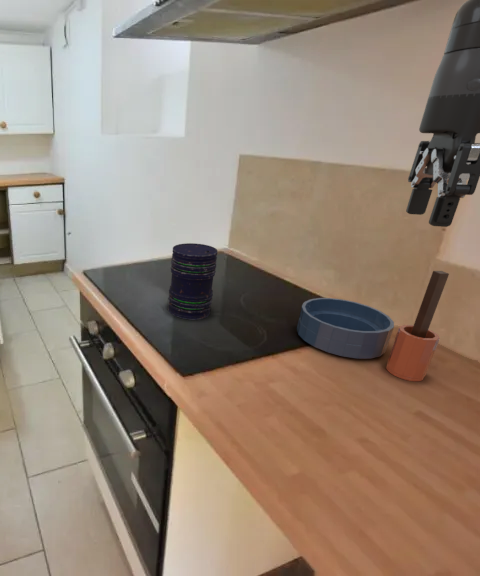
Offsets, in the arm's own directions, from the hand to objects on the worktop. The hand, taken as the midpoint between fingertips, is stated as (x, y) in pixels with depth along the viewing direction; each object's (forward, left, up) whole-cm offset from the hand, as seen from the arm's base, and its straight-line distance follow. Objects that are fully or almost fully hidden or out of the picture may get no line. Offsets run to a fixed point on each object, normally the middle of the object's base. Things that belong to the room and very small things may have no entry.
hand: (425, 219), depth 54 cm
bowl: (-1, -12, -27) cm, 30 cm away
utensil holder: (-6, -1, -27) cm, 28 cm away
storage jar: (+26, -26, -27) cm, 46 cm away
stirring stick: (-6, -1, -27) cm, 27 cm away
